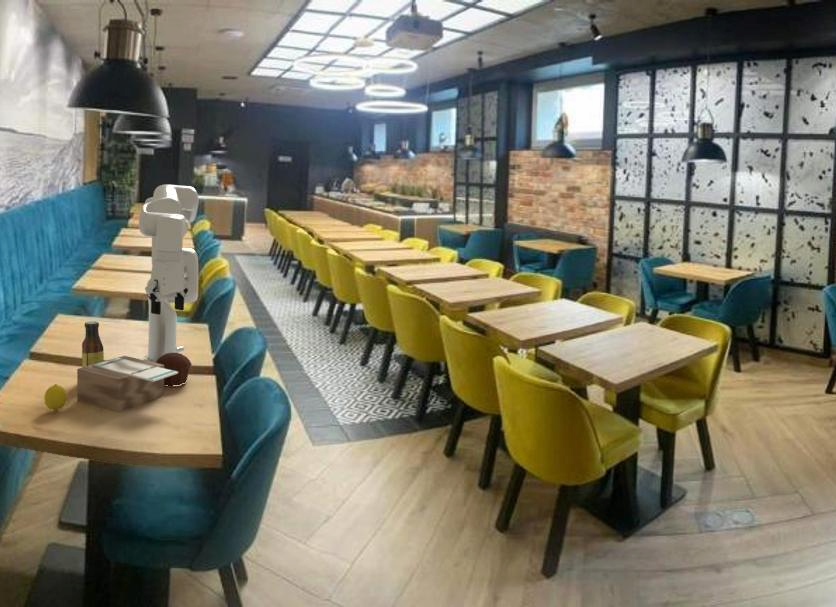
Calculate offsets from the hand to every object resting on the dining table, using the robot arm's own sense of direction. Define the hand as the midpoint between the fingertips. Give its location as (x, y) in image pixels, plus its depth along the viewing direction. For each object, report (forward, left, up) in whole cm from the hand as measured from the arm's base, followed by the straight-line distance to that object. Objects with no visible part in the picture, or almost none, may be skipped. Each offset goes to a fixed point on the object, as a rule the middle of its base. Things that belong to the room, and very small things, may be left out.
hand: (167, 311), depth 195 cm
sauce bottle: (+3, -27, -28) cm, 39 cm away
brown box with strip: (+9, -9, -27) cm, 30 cm away
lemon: (+27, -15, -28) cm, 41 cm away
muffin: (-11, -7, -28) cm, 30 cm away
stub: (+9, +4, -17) cm, 20 cm away
